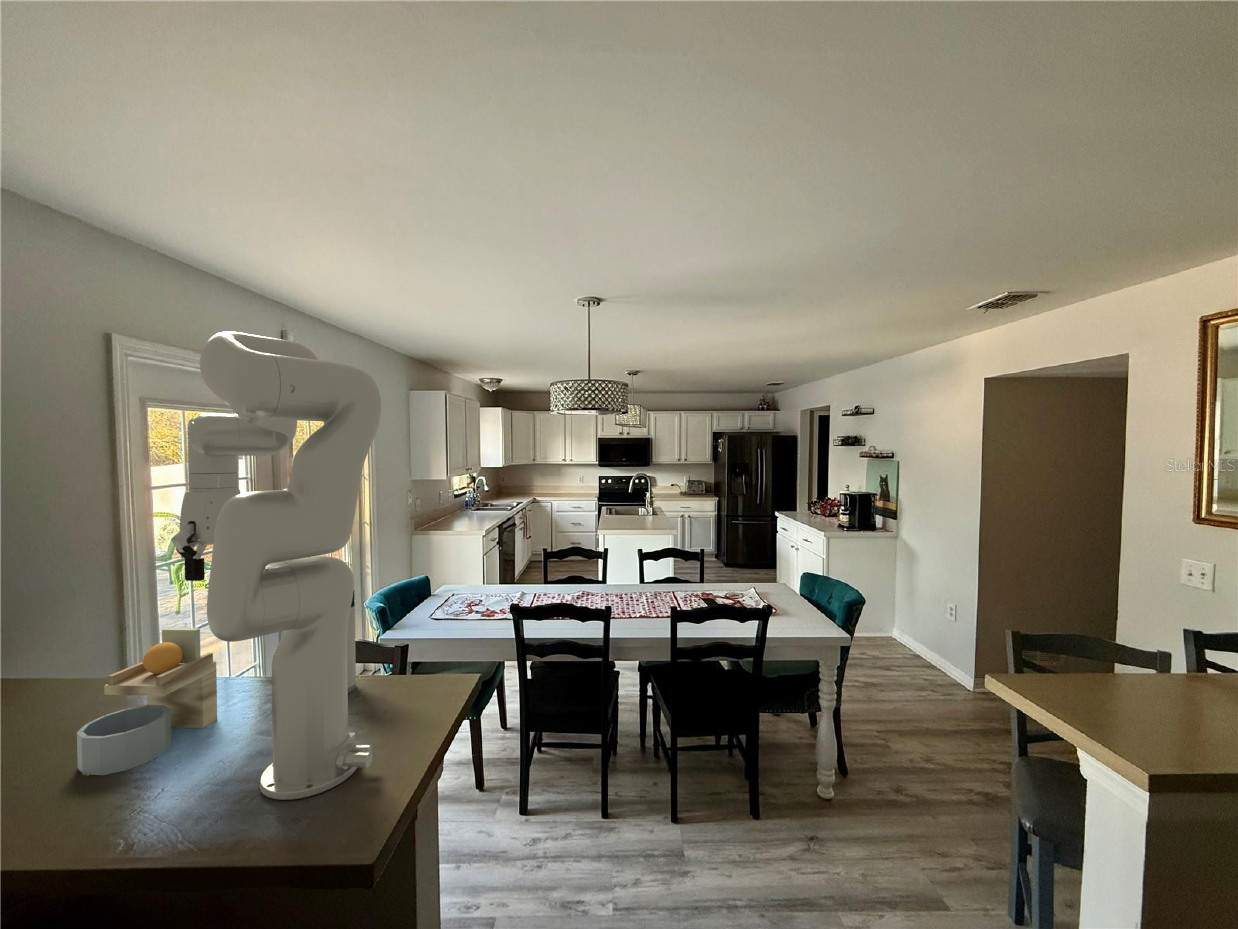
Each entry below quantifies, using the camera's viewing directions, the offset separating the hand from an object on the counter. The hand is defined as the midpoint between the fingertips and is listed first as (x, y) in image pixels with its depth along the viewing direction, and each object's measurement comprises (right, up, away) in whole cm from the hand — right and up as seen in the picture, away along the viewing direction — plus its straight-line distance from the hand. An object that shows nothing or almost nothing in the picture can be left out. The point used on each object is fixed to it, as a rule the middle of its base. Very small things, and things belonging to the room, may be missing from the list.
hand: (215, 574), depth 98 cm
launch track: (0, -25, -11) cm, 27 cm away
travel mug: (+20, -24, +5) cm, 32 cm away
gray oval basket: (-1, -25, -17) cm, 30 cm away
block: (0, -14, -7) cm, 16 cm away
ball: (0, -12, -11) cm, 16 cm away
